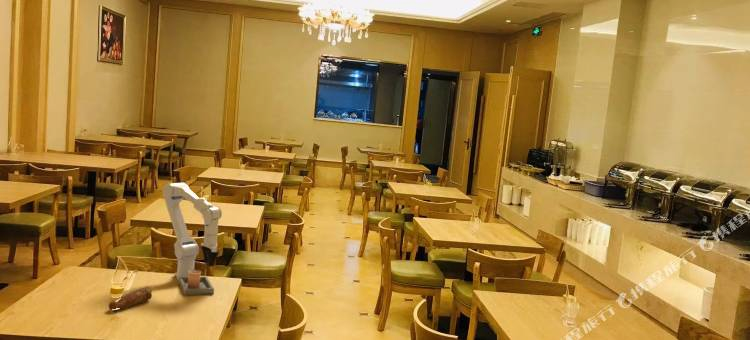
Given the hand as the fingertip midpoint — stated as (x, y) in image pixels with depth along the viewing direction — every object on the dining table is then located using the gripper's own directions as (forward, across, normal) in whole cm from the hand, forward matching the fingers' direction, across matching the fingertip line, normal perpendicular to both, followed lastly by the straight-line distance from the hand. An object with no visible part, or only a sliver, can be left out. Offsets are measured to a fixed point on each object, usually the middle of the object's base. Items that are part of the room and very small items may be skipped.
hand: (209, 263), depth 283 cm
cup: (+9, +5, -7) cm, 12 cm away
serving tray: (+9, +5, -6) cm, 12 cm away
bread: (+10, +21, -35) cm, 42 cm away
